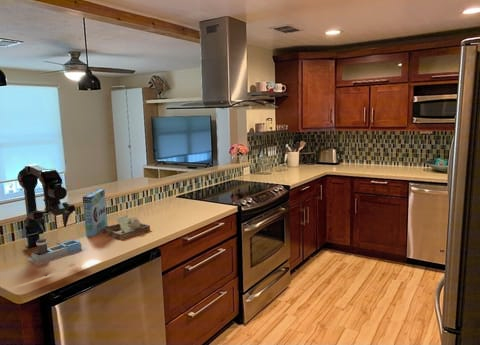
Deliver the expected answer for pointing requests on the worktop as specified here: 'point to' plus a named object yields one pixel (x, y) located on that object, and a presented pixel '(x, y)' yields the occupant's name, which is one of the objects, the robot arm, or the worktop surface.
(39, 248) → the dark grey cylinder
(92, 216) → the gum box
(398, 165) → the worktop surface
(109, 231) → the cheese crate
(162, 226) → the worktop surface
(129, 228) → the pale green lump
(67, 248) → the narrow cubby shelf
